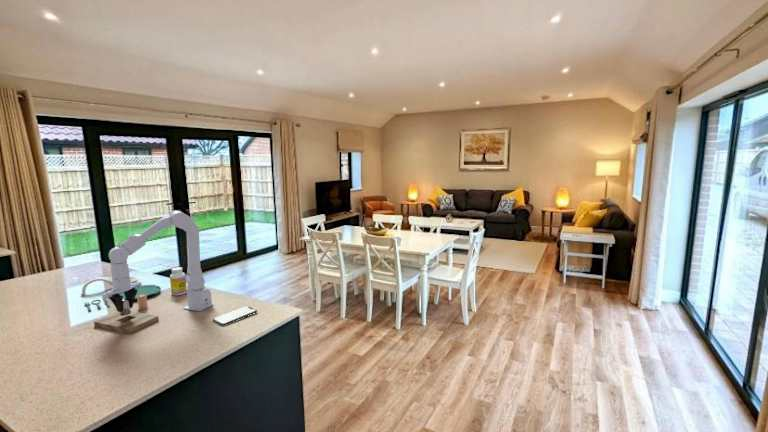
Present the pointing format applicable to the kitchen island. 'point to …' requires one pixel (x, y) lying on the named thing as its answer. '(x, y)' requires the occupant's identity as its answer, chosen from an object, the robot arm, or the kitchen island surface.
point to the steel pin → (125, 307)
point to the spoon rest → (105, 279)
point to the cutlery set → (145, 289)
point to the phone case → (234, 315)
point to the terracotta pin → (142, 302)
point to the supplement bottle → (178, 281)
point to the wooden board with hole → (120, 324)
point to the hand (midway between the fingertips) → (125, 309)
